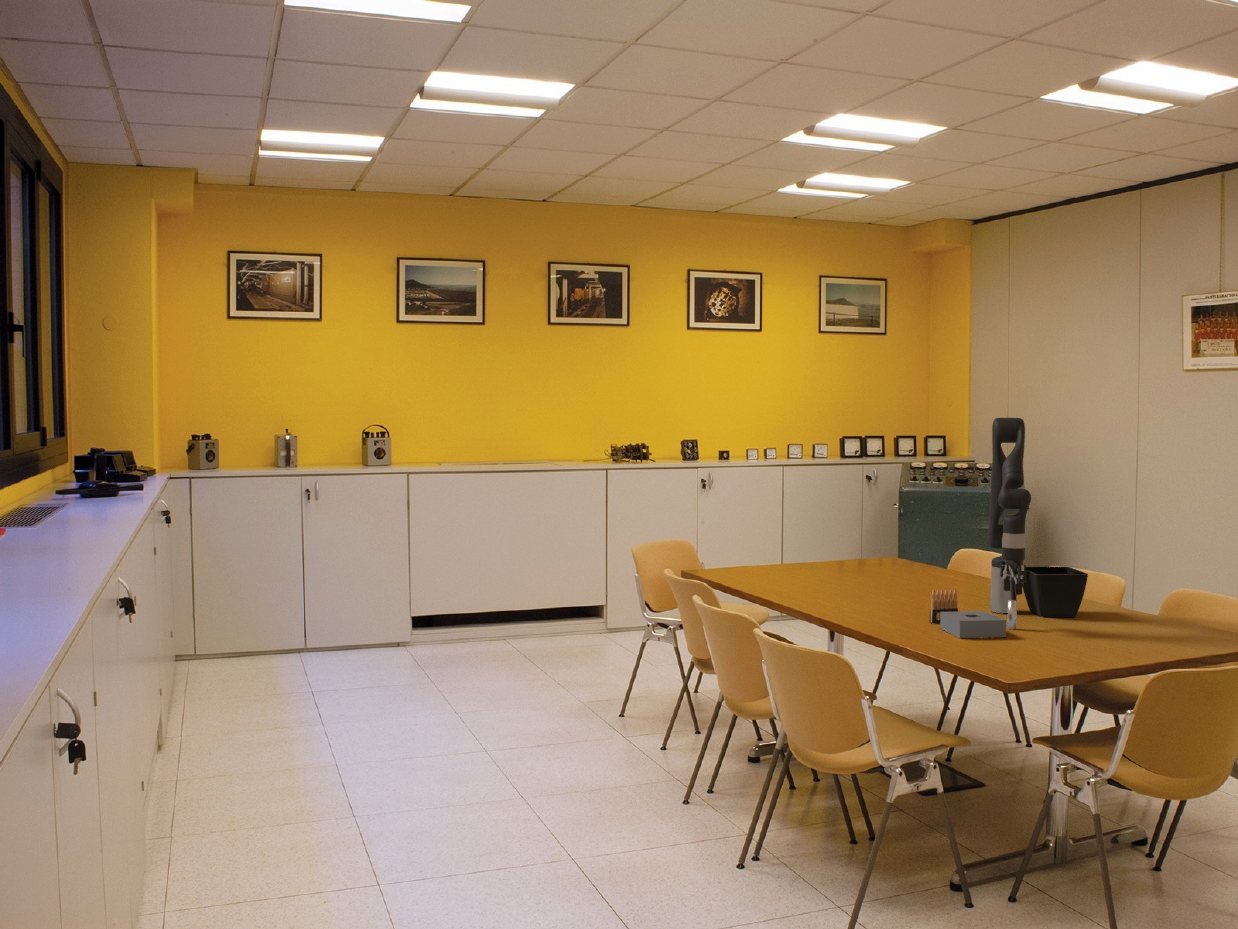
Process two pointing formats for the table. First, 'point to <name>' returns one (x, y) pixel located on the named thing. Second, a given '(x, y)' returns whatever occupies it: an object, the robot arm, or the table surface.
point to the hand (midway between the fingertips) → (1012, 592)
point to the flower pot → (1054, 590)
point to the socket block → (973, 624)
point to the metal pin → (1012, 614)
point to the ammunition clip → (942, 604)
